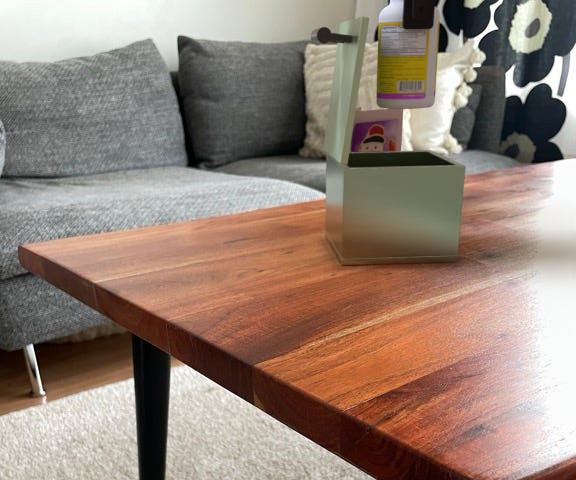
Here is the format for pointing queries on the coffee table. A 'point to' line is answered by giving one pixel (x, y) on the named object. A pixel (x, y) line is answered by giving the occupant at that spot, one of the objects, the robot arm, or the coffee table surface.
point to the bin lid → (343, 83)
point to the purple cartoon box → (377, 130)
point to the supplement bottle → (406, 61)
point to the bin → (394, 207)
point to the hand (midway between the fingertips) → (409, 28)
